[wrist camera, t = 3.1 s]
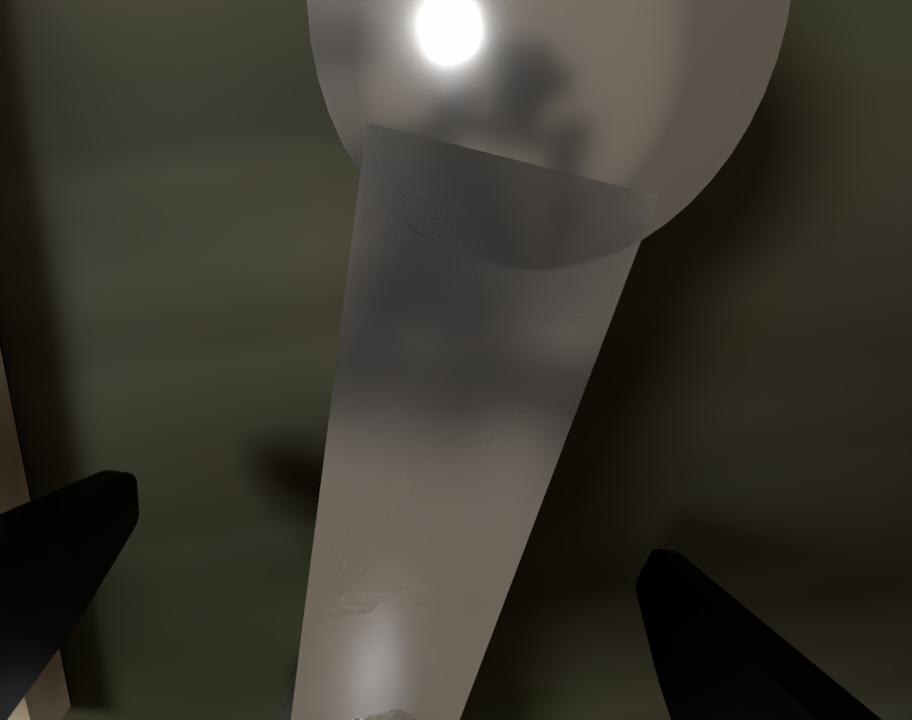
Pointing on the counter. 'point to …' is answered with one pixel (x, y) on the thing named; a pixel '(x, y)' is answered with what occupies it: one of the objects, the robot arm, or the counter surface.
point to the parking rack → (3, 490)
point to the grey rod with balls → (486, 295)
